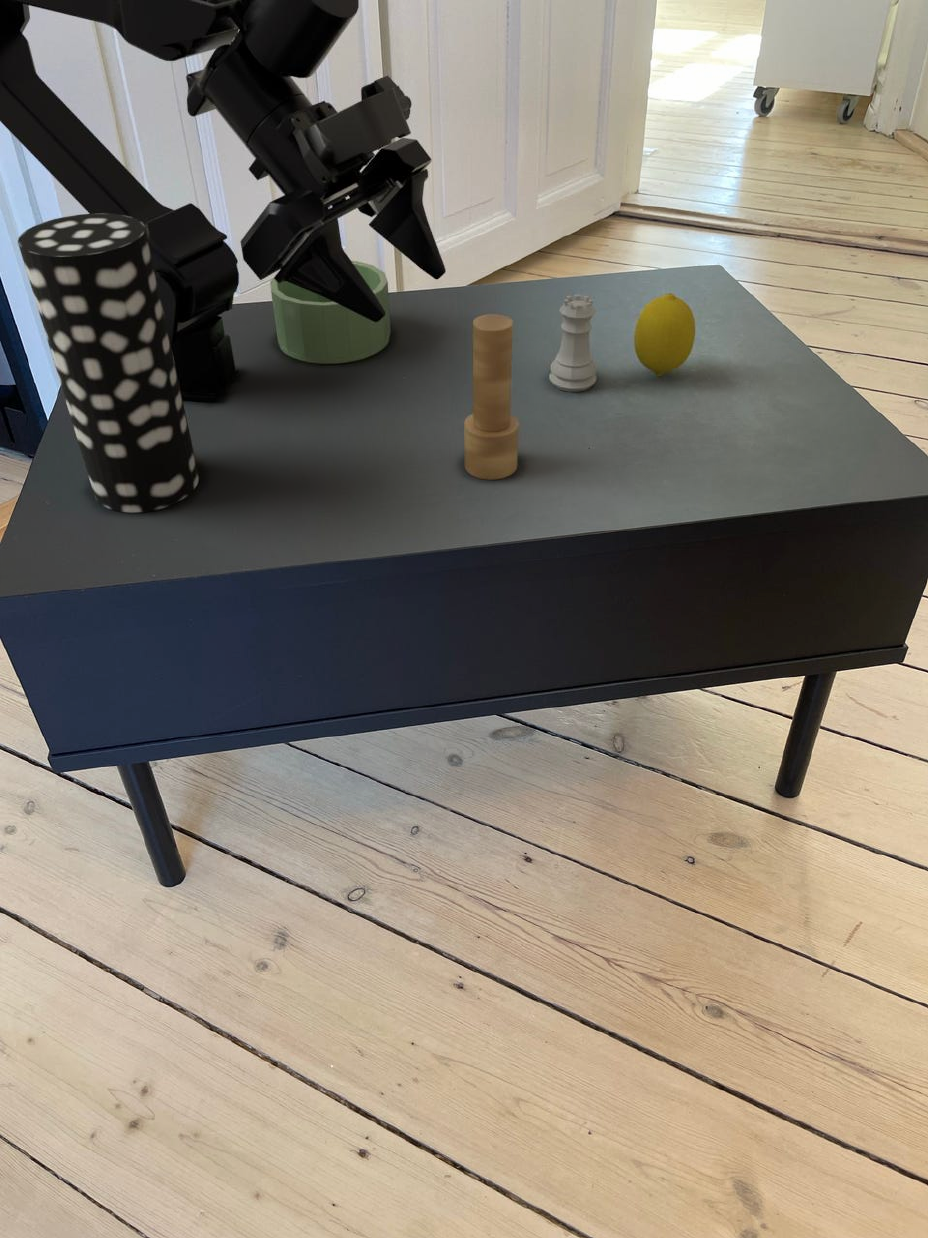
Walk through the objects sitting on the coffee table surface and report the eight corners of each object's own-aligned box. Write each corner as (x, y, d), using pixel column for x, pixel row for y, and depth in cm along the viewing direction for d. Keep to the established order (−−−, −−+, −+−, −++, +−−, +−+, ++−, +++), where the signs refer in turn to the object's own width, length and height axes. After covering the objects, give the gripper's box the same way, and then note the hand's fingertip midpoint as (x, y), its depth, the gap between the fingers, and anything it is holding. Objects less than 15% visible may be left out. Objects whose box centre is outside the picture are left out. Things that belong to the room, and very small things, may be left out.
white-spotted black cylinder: (111, 456, 82) (44, 212, 69) (209, 457, 82) (159, 213, 69) (79, 512, 76) (-3, 256, 63) (184, 513, 76) (125, 256, 63)
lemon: (623, 382, 92) (632, 300, 87) (638, 358, 96) (647, 278, 90) (681, 393, 90) (694, 309, 85) (693, 367, 94) (706, 286, 89)
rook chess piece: (593, 395, 90) (601, 312, 85) (545, 391, 91) (550, 308, 85) (598, 373, 93) (605, 292, 88) (552, 369, 94) (556, 288, 89)
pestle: (459, 476, 80) (458, 331, 71) (469, 449, 83) (469, 307, 75) (512, 482, 79) (517, 336, 71) (521, 454, 82) (526, 311, 74)
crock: (262, 358, 96) (253, 299, 92) (299, 311, 105) (292, 256, 101) (373, 368, 94) (369, 308, 90) (401, 320, 103) (399, 263, 99)
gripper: (249, 68, 60) (412, 277, 63) (404, 18, 72) (533, 194, 75) (175, 185, 67) (323, 365, 71) (326, 122, 80) (446, 277, 83)
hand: (412, 296), depth 75 cm, fingers open, 9 cm apart
